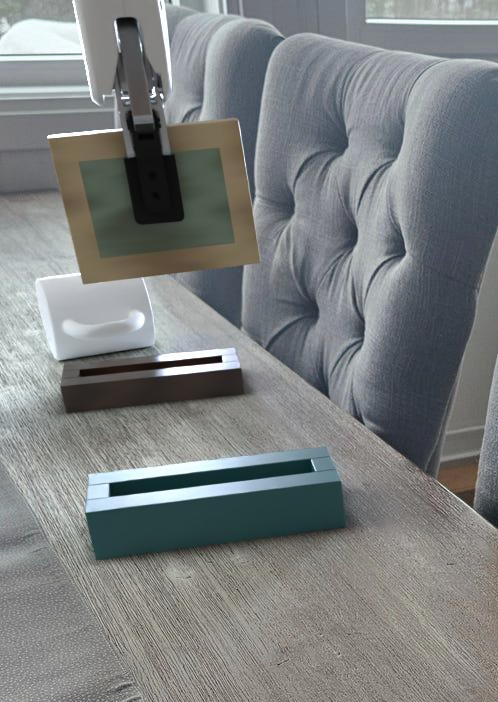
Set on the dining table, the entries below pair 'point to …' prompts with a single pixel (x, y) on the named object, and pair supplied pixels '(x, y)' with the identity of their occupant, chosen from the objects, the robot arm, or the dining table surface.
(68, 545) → the dining table surface
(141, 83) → the robot arm
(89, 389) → the rack
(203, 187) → the frame
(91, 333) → the white bread box
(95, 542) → the holder
